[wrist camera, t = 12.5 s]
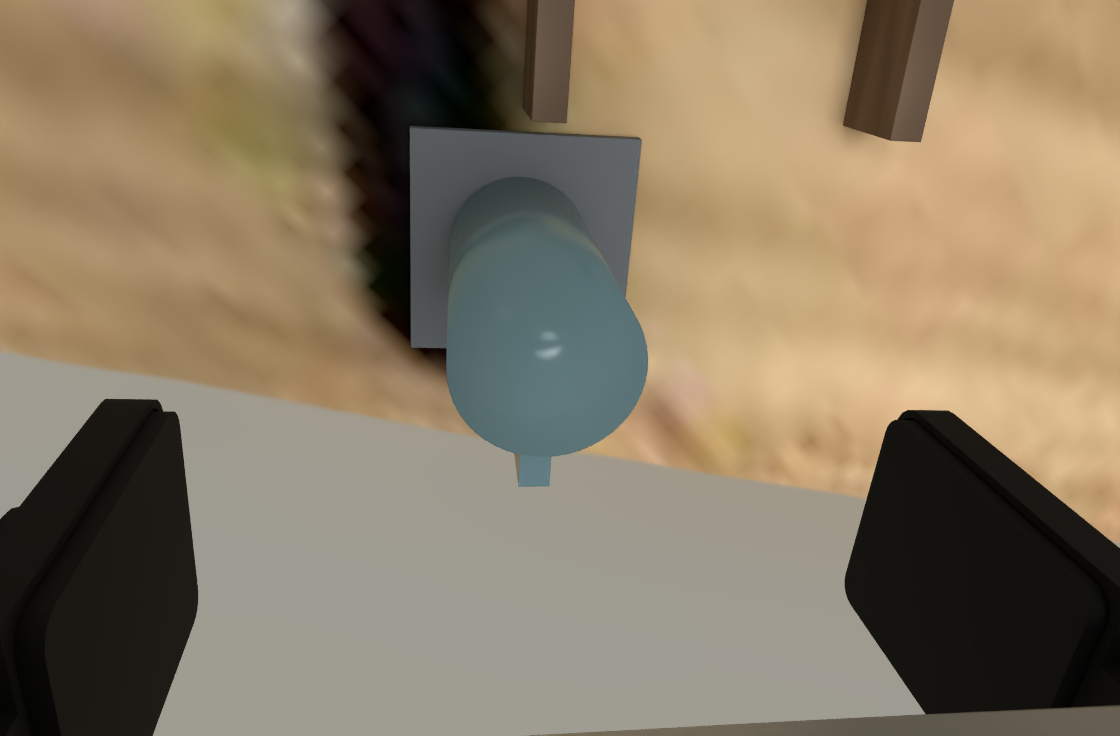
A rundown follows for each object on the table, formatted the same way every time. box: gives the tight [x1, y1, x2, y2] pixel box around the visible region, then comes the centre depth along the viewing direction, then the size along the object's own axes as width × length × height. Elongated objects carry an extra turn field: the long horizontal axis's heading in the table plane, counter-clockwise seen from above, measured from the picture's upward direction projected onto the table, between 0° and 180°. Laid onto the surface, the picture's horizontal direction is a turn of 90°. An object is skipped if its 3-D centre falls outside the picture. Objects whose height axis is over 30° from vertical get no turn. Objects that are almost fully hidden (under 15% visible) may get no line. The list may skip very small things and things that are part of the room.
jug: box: [446, 177, 648, 487], centre depth 29 cm, size 8×6×12 cm
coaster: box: [410, 126, 642, 348], centre depth 34 cm, size 9×9×1 cm
